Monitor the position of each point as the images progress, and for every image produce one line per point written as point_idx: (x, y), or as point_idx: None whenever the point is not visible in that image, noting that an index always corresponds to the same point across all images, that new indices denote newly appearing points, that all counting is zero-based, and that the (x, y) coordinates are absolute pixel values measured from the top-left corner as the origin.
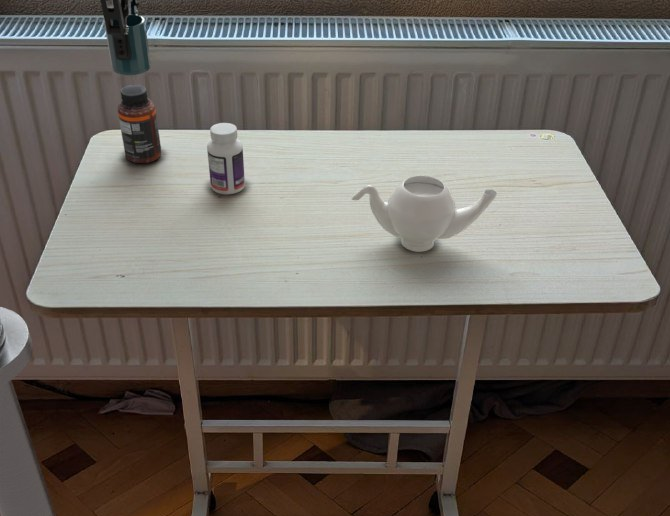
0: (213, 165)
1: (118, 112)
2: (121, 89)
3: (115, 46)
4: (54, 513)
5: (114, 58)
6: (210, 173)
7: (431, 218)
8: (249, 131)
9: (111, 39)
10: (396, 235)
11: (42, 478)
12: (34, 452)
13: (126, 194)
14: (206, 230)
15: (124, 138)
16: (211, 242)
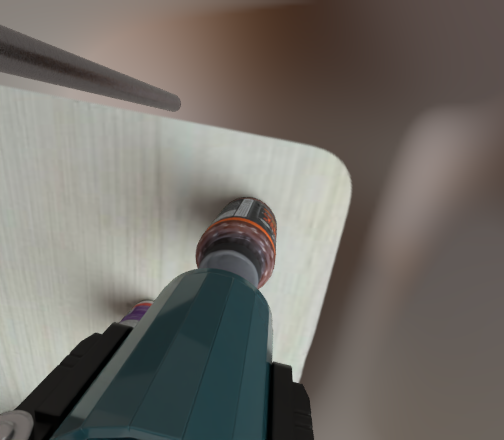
0: None
1: (223, 221)
2: (233, 253)
3: (80, 361)
4: (65, 86)
5: (150, 308)
6: (131, 315)
7: None
8: (301, 365)
9: (106, 367)
10: None
11: (30, 78)
12: (4, 72)
13: (136, 192)
14: (55, 280)
15: (225, 210)
16: (31, 282)
